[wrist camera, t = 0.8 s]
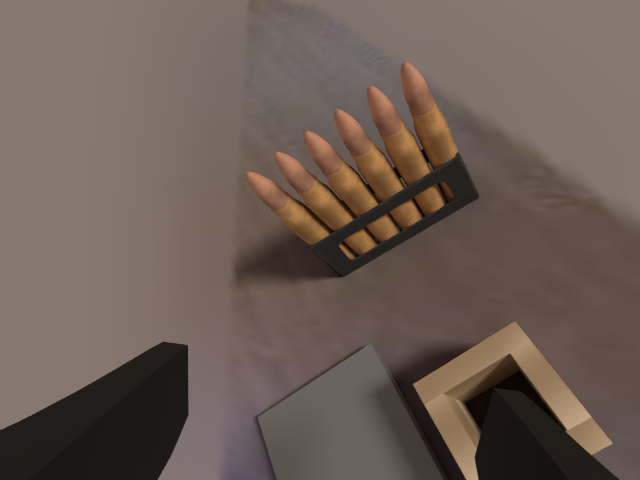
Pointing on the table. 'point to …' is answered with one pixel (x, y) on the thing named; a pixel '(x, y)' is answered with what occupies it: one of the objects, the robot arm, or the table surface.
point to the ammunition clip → (373, 181)
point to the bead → (485, 372)
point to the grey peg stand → (349, 428)
